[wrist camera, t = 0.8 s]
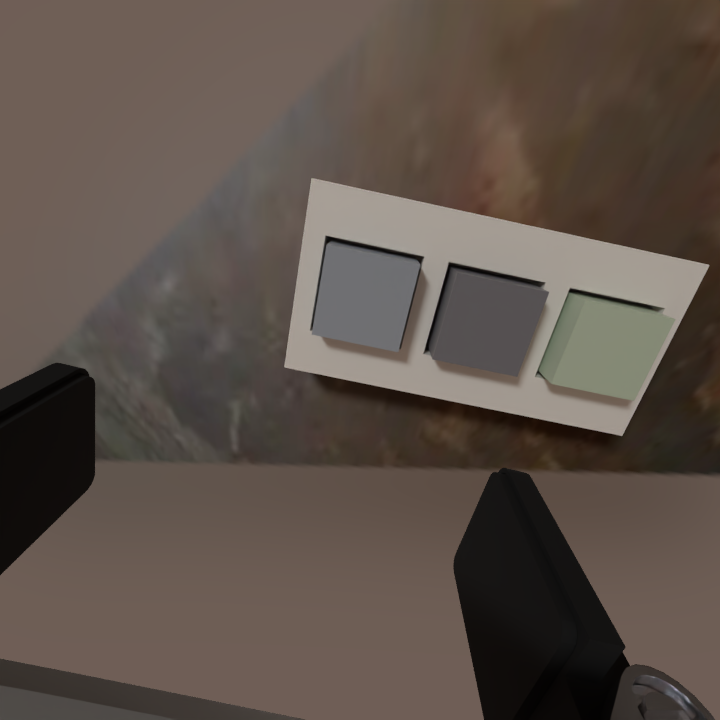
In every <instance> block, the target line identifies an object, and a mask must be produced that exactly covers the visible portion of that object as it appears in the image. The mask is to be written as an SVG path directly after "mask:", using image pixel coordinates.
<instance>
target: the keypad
mask: <svg viewBox="0 0 720 720" xmlns="http://www.w3.org/2000/svg"><path fill="white" fill-rule="evenodd" d="M332 240H336V241H340V242H345V243H350V244H354V245H359V246H364V247H368V248H373V249H378V250H382V251H387V252H392V253H396V254H401V255H406V256H410V257H415V258H416V259H417V260H418V262H419V263H420V268H419V272H418V276H417V280H416V284H415V288H414V292H413V296H412V300H411V304H410V308H409V312H408V316H407V319H406V323H405V327H404V331H403V335H402V339H401V343H400V347H399V351H398V352H394V351H389V350H384V349H380V348H375V347H370V346H365V345H360V344H355V343H351V342H346V341H341V340H336V339H331V338H326V337H321V336H317V335H312V329H313V323H314V317H315V311H316V305H317V299H318V293H319V287H320V281H321V275H322V269H323V263H324V257H325V251H326V245H327V244H328V243H329V242H331V241H332ZM448 265H452V266H457V267H462V268H467V269H471V270H476V271H481V272H485V273H490V274H495V275H499V276H504V277H509V278H513V279H518V280H523V281H527V282H531V283H533V284H534V285H536V286H538V287H540V288H542V289H544V290H546V291H548V292H549V294H548V297H547V300H546V302H545V305H544V308H543V310H542V313H541V316H540V318H539V321H538V324H537V326H536V329H535V331H534V334H533V337H532V339H531V342H530V345H529V347H528V350H527V353H526V355H525V358H524V361H523V363H522V366H521V369H520V371H519V374H518V376H517V377H515V376H511V375H506V374H501V373H496V372H491V371H486V370H482V369H477V368H472V367H467V366H462V365H457V364H452V363H448V362H443V361H438V360H433V359H432V357H431V354H430V351H429V348H428V345H427V339H428V336H429V332H430V329H431V325H432V322H433V318H434V314H435V311H436V307H437V304H438V300H439V296H440V293H441V289H442V286H443V282H444V278H445V275H446V271H447V268H448ZM708 267H709V265H707V264H702V263H698V262H693V261H689V260H684V259H679V258H675V257H670V256H666V255H661V254H657V253H652V252H647V251H643V250H638V249H634V248H629V247H625V246H620V245H615V244H611V243H606V242H602V241H597V240H593V239H588V238H583V237H579V236H574V235H570V234H565V233H561V232H556V231H551V230H547V229H542V228H538V227H533V226H529V225H524V224H519V223H515V222H510V221H506V220H501V219H496V218H492V217H487V216H483V215H478V214H474V213H469V212H464V211H460V210H455V209H451V208H446V207H442V206H437V205H432V204H428V203H423V202H419V201H414V200H410V199H405V198H400V197H396V196H391V195H387V194H382V193H378V192H373V191H368V190H364V189H359V188H355V187H350V186H346V185H341V184H336V183H332V182H327V181H323V180H318V179H314V178H312V179H311V186H310V193H309V200H308V207H307V214H306V221H305V228H304V235H303V241H302V248H301V255H300V262H299V269H298V276H297V283H296V290H295V297H294V304H293V311H292V317H291V324H290V331H289V338H288V345H287V352H286V359H285V366H284V367H285V368H290V369H295V370H300V371H305V372H310V373H315V374H320V375H325V376H329V377H334V378H339V379H344V380H349V381H354V382H359V383H364V384H369V385H374V386H379V387H384V388H389V389H393V390H398V391H403V392H408V393H413V394H418V395H423V396H428V397H433V398H438V399H443V400H448V401H453V402H458V403H462V404H467V405H472V406H477V407H482V408H487V409H492V410H497V411H502V412H507V413H512V414H517V415H522V416H526V417H531V418H536V419H541V420H546V421H551V422H556V423H561V424H566V425H571V426H576V427H581V428H586V429H590V430H595V431H600V432H605V433H610V434H615V435H620V436H622V435H623V433H624V431H625V429H626V427H627V425H628V423H629V421H630V419H631V418H632V416H633V414H634V412H635V410H636V408H637V406H638V404H639V402H640V400H641V398H642V396H643V394H644V392H645V390H646V388H647V386H648V384H649V382H650V380H651V378H652V377H653V375H654V373H655V371H656V369H657V367H658V365H659V363H660V361H661V359H662V357H663V355H664V353H665V351H666V349H667V347H668V345H669V343H670V341H671V339H672V337H673V336H674V334H675V332H676V330H677V328H678V326H679V324H680V322H681V320H682V318H683V316H684V314H685V312H686V310H687V308H688V306H689V304H690V302H691V300H692V298H693V296H694V295H695V293H696V291H697V289H698V287H699V285H700V283H701V281H702V279H703V277H704V275H705V273H706V271H707V269H708ZM568 291H574V292H579V293H583V294H588V295H593V296H597V297H602V298H607V299H611V300H616V301H621V302H625V303H630V304H635V305H639V306H643V307H646V308H648V309H651V310H653V311H656V312H659V313H661V314H664V315H666V316H669V317H672V318H674V319H675V321H674V323H673V325H672V327H671V329H670V331H669V333H668V335H667V337H666V339H665V341H664V343H663V345H662V347H661V349H660V351H659V353H658V355H657V357H656V359H655V361H654V363H653V365H652V367H651V369H650V371H649V373H648V375H647V377H646V379H645V381H644V383H643V385H642V387H641V389H640V391H639V393H638V395H637V397H636V398H635V400H634V401H632V400H627V399H622V398H617V397H613V396H608V395H603V394H598V393H593V392H588V391H583V390H579V389H574V388H569V387H564V386H559V385H554V384H551V383H550V382H549V381H548V380H547V379H546V378H545V377H544V376H543V375H542V374H541V373H540V372H539V371H538V367H539V365H540V362H541V360H542V357H543V355H544V352H545V350H546V347H547V345H548V342H549V340H550V337H551V334H552V332H553V329H554V327H555V324H556V322H557V319H558V317H559V314H560V312H561V309H562V307H563V304H564V302H565V299H566V297H567V294H568Z"/></svg>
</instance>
